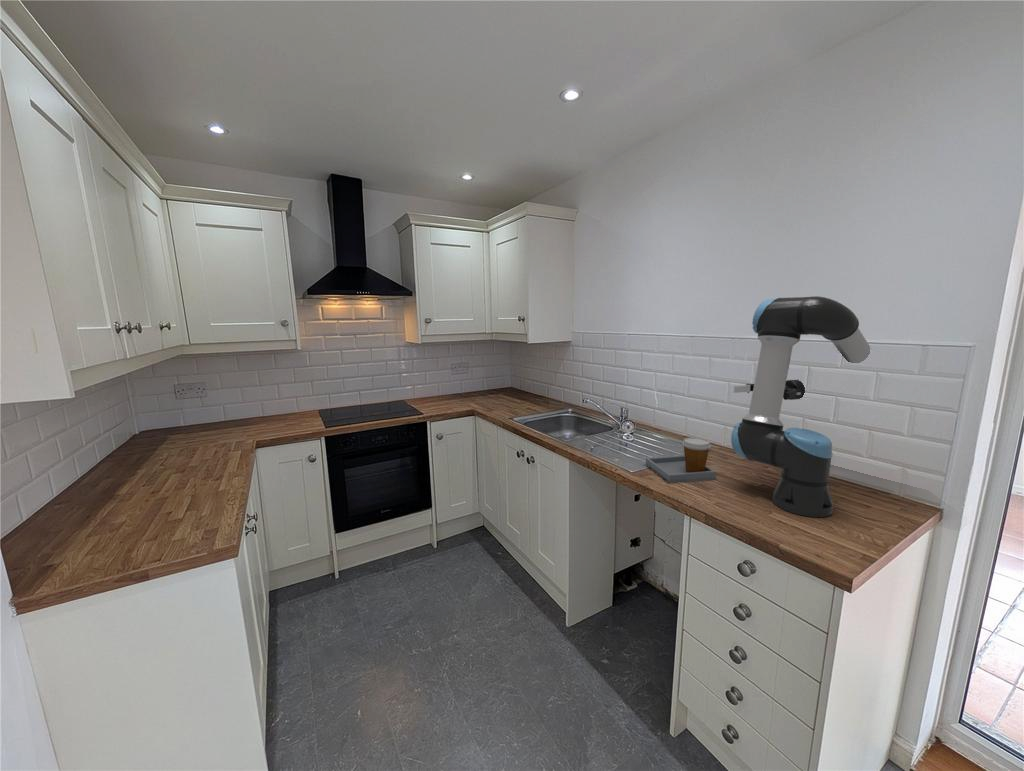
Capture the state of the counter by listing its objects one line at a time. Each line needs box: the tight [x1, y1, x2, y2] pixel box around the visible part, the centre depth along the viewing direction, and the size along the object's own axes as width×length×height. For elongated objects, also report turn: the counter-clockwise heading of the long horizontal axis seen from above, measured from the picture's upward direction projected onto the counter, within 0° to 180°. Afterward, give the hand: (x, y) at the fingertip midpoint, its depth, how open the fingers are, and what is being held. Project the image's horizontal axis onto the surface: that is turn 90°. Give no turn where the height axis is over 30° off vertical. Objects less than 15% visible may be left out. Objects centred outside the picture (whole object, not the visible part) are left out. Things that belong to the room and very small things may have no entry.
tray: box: [645, 454, 717, 484], centre depth 152 cm, size 18×18×3 cm
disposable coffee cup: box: [682, 437, 712, 473], centre depth 148 cm, size 10×10×12 cm
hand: (746, 392), depth 149 cm, fingers open, 13 cm apart
